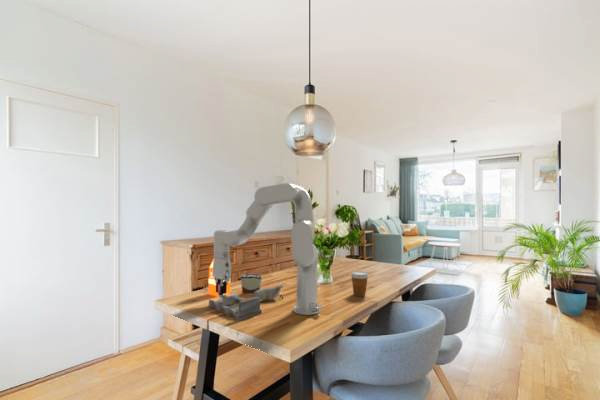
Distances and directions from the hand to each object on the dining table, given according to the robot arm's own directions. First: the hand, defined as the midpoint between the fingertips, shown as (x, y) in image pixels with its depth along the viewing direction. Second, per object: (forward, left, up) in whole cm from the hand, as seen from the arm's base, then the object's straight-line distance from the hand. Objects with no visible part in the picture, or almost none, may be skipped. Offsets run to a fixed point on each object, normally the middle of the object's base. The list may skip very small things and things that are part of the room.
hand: (221, 292), depth 150 cm
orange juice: (+16, -9, -6) cm, 19 cm away
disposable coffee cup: (-40, -62, -6) cm, 74 cm away
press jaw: (-3, 0, -4) cm, 5 cm away
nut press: (-12, 0, -6) cm, 13 cm away
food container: (+5, -23, -6) cm, 24 cm away
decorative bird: (-12, -20, -6) cm, 24 cm away
